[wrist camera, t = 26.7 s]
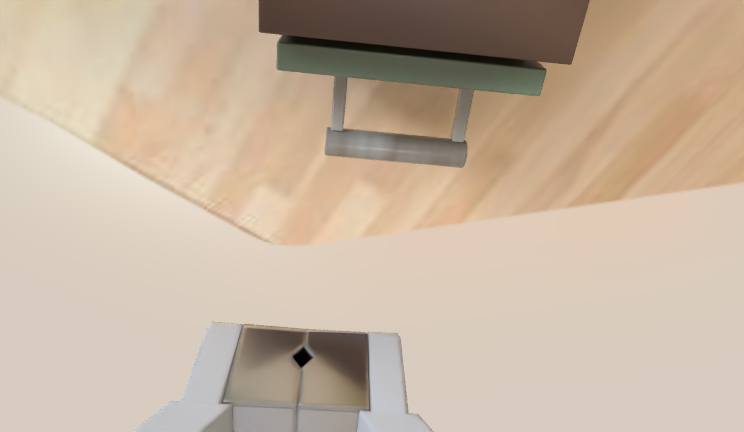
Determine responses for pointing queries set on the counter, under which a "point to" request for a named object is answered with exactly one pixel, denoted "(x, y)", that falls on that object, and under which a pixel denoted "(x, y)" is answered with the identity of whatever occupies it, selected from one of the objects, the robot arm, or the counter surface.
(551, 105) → the counter surface
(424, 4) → the cabinet
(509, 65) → the drawer
